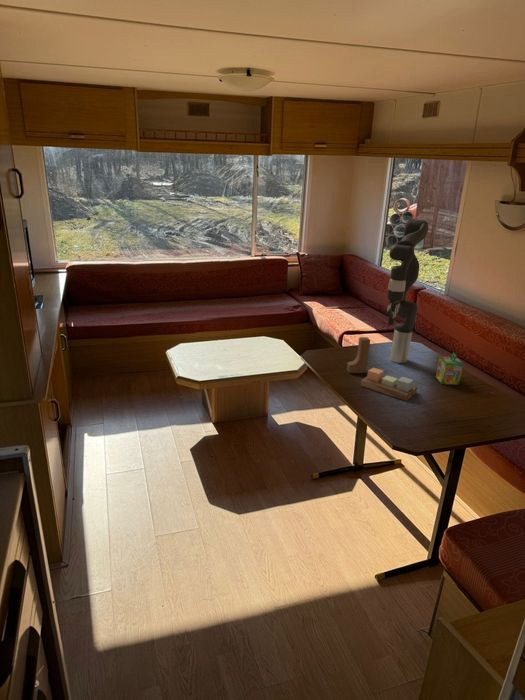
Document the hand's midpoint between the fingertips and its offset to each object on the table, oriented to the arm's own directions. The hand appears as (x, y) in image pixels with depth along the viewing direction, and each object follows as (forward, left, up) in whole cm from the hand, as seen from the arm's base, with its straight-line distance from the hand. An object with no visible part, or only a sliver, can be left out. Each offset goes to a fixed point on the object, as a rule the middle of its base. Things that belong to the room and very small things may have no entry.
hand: (390, 324), depth 235 cm
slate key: (+7, +14, -27) cm, 31 cm away
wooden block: (-1, -15, -29) cm, 33 cm away
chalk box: (-24, +24, -29) cm, 45 cm away
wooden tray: (+7, +7, -29) cm, 31 cm away
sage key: (+7, +6, -29) cm, 30 cm away
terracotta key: (+7, -1, -27) cm, 28 cm away
